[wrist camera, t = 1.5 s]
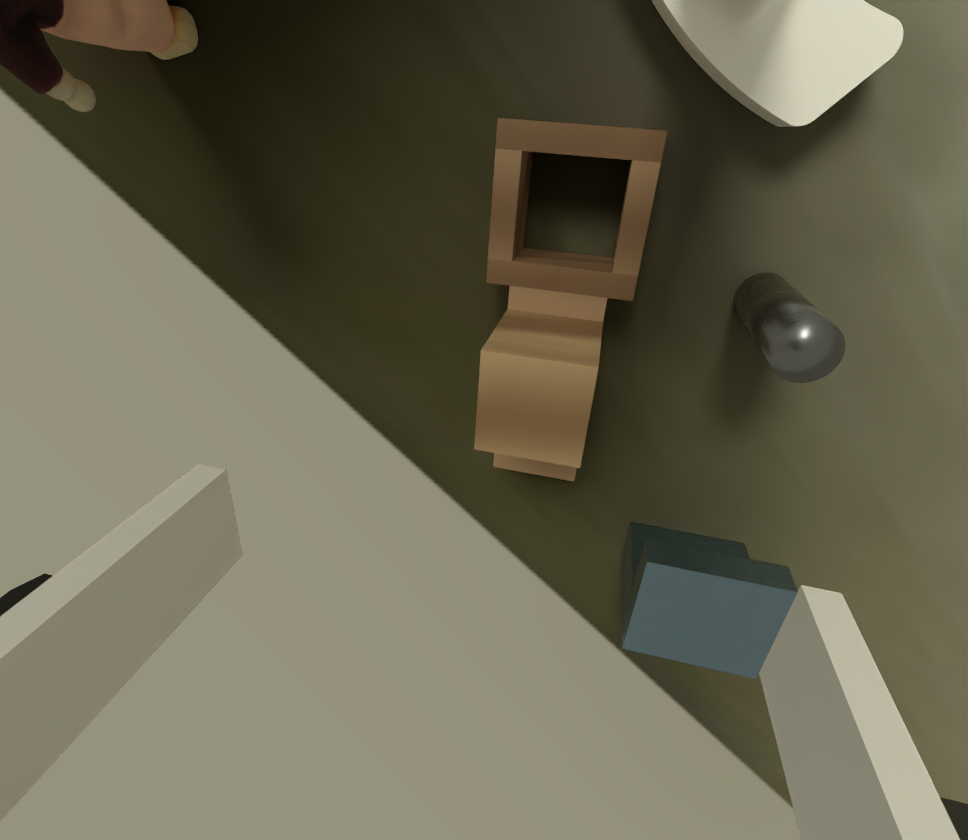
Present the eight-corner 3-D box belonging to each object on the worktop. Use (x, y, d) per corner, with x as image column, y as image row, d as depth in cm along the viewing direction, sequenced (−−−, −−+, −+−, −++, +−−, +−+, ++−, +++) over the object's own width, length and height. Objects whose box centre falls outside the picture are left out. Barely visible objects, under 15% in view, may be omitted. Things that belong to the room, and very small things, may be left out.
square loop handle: (512, 119, 22) (462, 113, 15) (662, 130, 21) (681, 130, 14) (486, 434, 29) (445, 526, 23) (597, 453, 28) (590, 555, 22)
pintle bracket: (695, 264, 23) (719, 306, 18) (847, 281, 22) (923, 332, 17) (622, 555, 31) (622, 648, 26) (731, 577, 30) (756, 679, 25)
